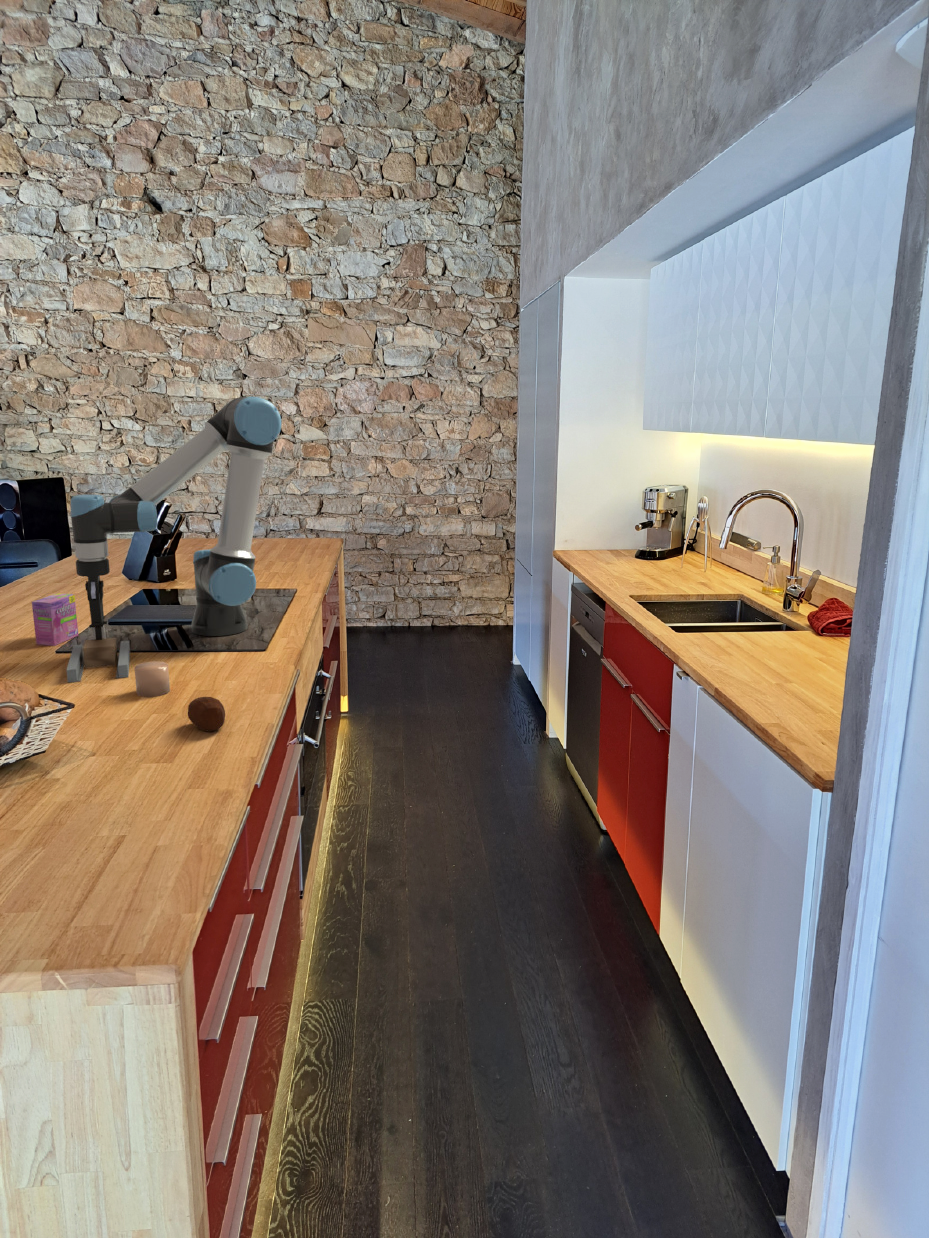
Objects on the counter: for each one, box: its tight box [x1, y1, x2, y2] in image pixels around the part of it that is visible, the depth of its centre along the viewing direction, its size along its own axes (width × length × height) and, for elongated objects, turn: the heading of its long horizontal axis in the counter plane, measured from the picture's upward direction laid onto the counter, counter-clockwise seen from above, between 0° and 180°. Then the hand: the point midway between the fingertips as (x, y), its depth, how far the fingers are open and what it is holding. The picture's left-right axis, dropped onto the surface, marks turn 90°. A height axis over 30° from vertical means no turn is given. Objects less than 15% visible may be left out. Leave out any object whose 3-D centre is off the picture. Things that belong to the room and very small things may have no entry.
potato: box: [187, 696, 226, 732], centre depth 172 cm, size 7×9×6 cm
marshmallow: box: [134, 660, 171, 698], centre depth 193 cm, size 7×7×6 cm
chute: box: [66, 640, 131, 684], centre depth 211 cm, size 13×22×3 cm, turn 19°
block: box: [83, 637, 118, 669], centre depth 215 cm, size 7×8×5 cm
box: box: [31, 592, 79, 647], centre depth 233 cm, size 10×6×12 cm, turn 168°
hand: (100, 651), depth 219 cm, fingers closed
